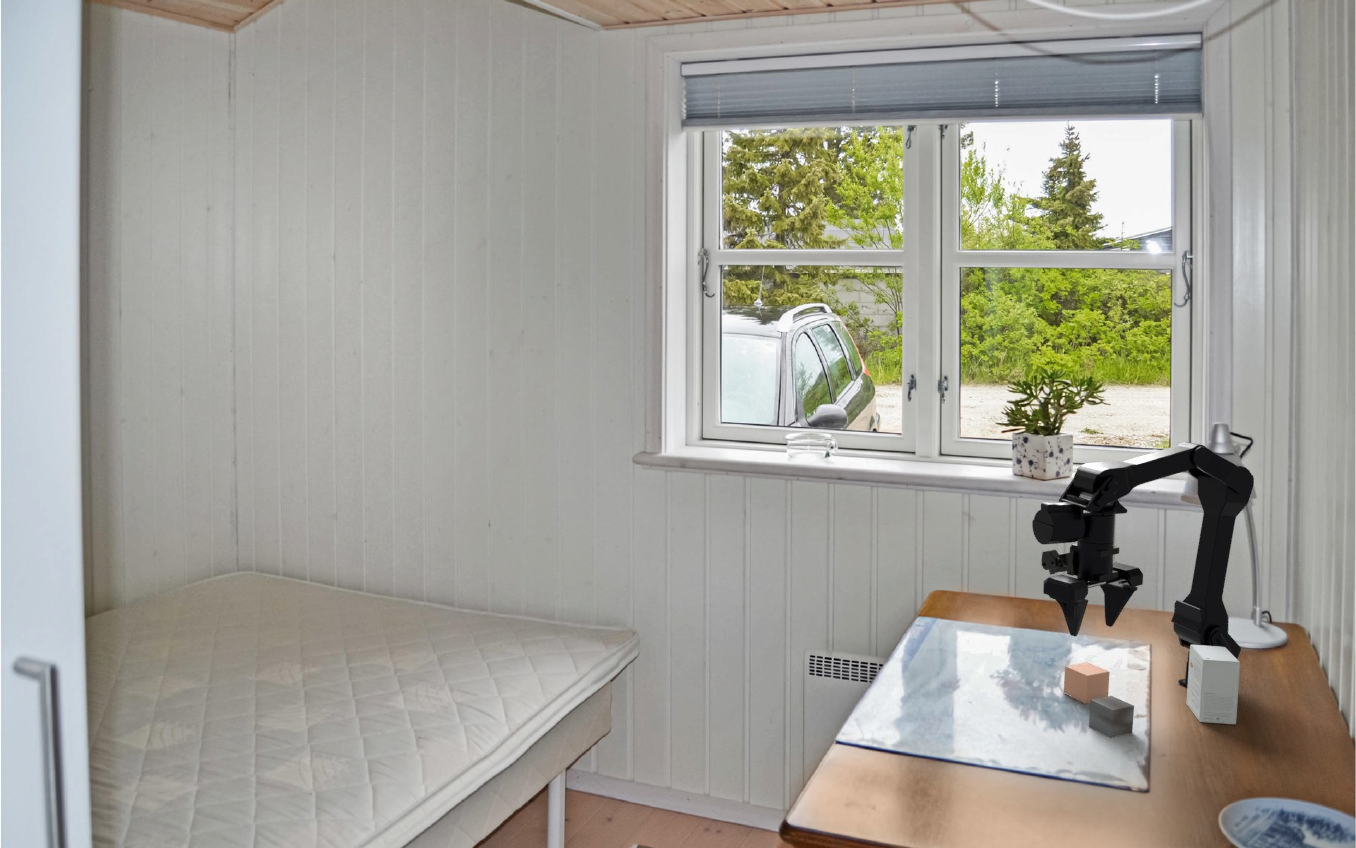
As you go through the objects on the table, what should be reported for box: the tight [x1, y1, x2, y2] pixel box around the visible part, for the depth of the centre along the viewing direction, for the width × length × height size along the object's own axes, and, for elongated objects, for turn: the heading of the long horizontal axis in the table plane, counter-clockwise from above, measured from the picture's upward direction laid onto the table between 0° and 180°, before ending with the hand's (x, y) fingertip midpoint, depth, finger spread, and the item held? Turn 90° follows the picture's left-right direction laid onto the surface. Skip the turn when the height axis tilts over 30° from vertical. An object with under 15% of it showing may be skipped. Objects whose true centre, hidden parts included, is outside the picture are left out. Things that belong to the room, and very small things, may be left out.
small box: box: [1185, 645, 1241, 725], centre depth 173 cm, size 8×6×10 cm
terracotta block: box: [1063, 661, 1110, 704], centre depth 181 cm, size 5×5×5 cm
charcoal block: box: [1088, 695, 1135, 738], centre depth 167 cm, size 4×4×4 cm
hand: (1091, 630), depth 179 cm, fingers open, 9 cm apart
